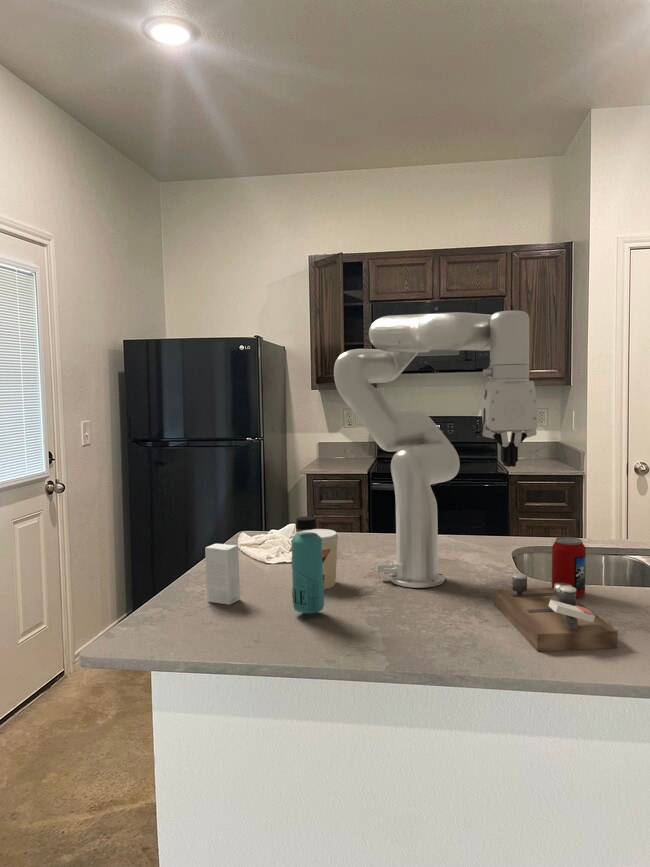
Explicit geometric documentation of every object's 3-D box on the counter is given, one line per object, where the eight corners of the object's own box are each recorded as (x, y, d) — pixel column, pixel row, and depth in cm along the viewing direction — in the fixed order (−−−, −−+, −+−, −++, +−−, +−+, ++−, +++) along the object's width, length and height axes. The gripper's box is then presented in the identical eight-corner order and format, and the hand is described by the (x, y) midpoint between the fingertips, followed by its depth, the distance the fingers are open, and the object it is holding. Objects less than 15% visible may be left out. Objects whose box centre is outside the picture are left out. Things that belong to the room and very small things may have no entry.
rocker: (555, 612, 115) (558, 604, 115) (548, 605, 118) (550, 598, 118) (593, 622, 115) (595, 614, 115) (584, 615, 118) (587, 608, 118)
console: (537, 651, 114) (537, 624, 113) (493, 604, 138) (493, 581, 137) (617, 647, 114) (617, 620, 114) (560, 601, 138) (560, 578, 138)
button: (558, 598, 128) (558, 587, 127) (551, 592, 131) (551, 582, 131) (574, 597, 128) (574, 587, 128) (567, 592, 131) (567, 582, 131)
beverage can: (587, 600, 138) (588, 544, 138) (554, 599, 140) (554, 543, 139) (582, 590, 145) (582, 536, 144) (549, 589, 146) (550, 535, 145)
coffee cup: (291, 588, 151) (290, 536, 150) (308, 576, 160) (307, 527, 159) (330, 592, 147) (328, 539, 146) (344, 580, 156) (343, 530, 155)
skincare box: (240, 599, 144) (239, 545, 143) (230, 605, 140) (228, 549, 139) (217, 596, 147) (215, 542, 146) (206, 602, 143) (204, 547, 142)
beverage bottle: (329, 611, 135) (327, 514, 134) (318, 622, 129) (316, 521, 128) (299, 608, 138) (297, 513, 136) (287, 619, 131) (284, 519, 130)
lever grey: (515, 596, 132) (515, 578, 132) (510, 591, 135) (510, 573, 135) (529, 595, 132) (529, 577, 132) (524, 591, 135) (524, 573, 135)
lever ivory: (563, 610, 123) (563, 591, 123) (557, 605, 126) (557, 586, 126) (578, 610, 123) (579, 590, 123) (572, 604, 126) (572, 585, 126)
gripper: (477, 374, 128) (477, 469, 129) (553, 373, 128) (553, 467, 130) (467, 375, 135) (467, 464, 137) (539, 373, 136) (538, 462, 137)
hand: (509, 465), depth 133 cm, fingers closed
